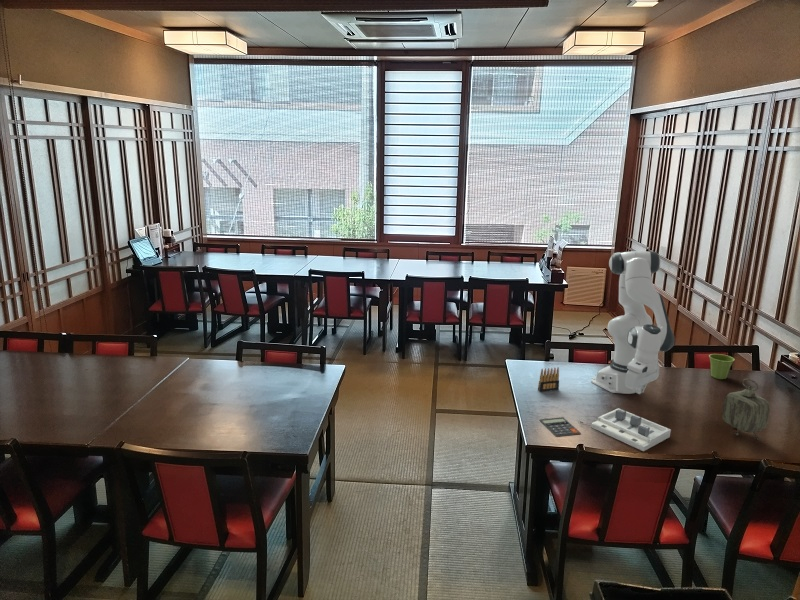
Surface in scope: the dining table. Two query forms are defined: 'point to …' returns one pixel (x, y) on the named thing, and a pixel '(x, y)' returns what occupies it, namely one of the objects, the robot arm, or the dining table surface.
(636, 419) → the tab
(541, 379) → the ammunition clip
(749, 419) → the tabletop clock
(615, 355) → the robot arm
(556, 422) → the calculator
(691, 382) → the dining table surface
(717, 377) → the plant pot
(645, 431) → the tab
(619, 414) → the tab
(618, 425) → the switch bank
